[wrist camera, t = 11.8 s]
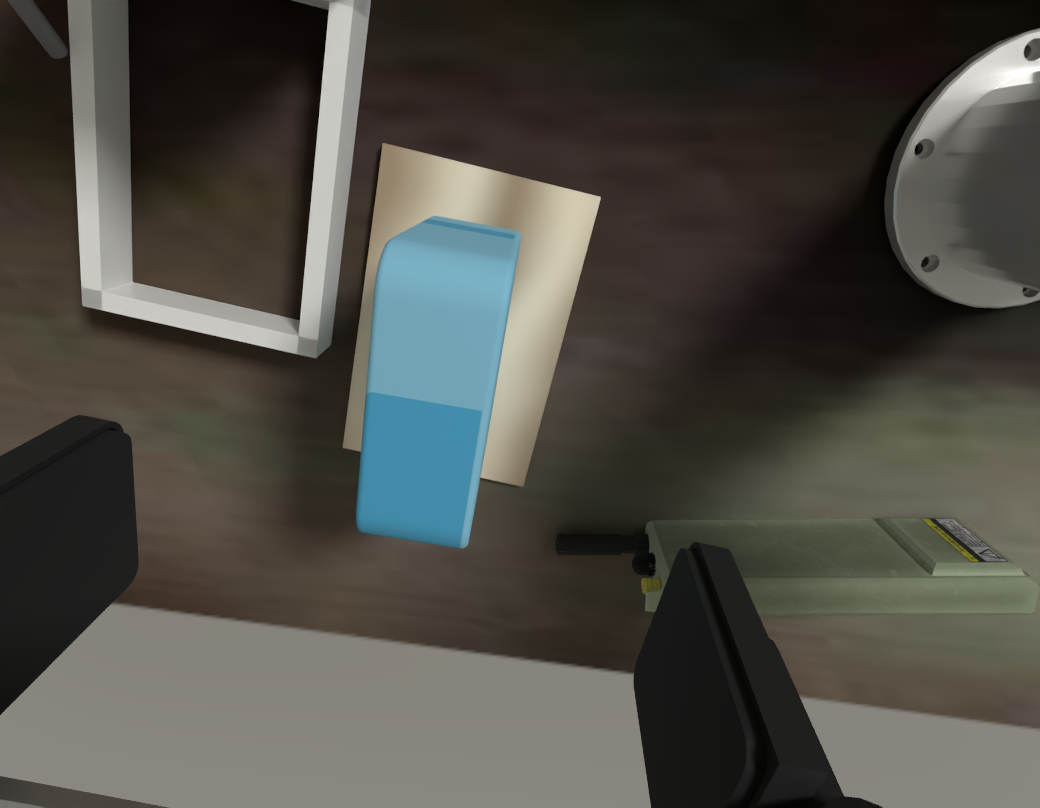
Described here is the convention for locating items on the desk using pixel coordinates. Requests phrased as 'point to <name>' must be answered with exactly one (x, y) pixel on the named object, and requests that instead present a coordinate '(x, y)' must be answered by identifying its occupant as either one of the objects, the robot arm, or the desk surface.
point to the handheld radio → (835, 564)
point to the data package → (433, 377)
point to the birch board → (536, 291)
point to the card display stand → (108, 178)
